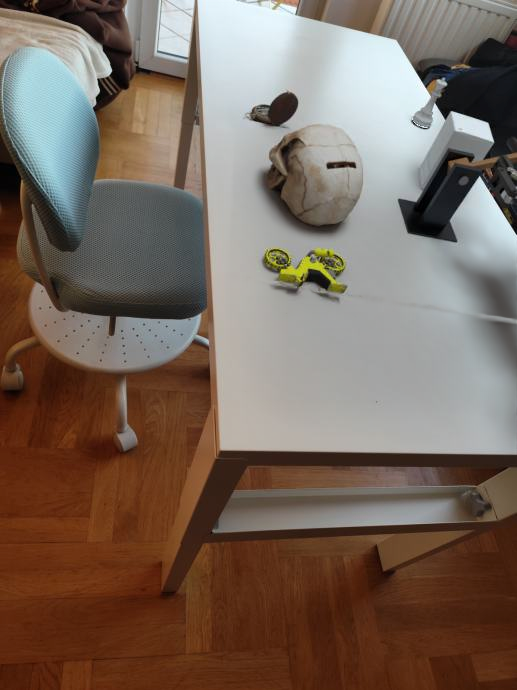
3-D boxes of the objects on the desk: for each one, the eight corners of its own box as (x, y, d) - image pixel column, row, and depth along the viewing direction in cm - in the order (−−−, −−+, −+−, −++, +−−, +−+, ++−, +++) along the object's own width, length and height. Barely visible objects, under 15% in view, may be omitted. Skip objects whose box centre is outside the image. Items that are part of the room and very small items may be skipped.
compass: (270, 108, 96) (280, 70, 90) (292, 130, 93) (303, 92, 87) (236, 111, 92) (244, 72, 87) (258, 134, 89) (267, 95, 83)
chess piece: (413, 126, 106) (437, 80, 98) (409, 116, 109) (432, 70, 101) (431, 131, 107) (456, 85, 99) (427, 120, 109) (451, 75, 102)
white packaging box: (454, 205, 90) (495, 143, 80) (417, 193, 90) (454, 129, 80) (451, 183, 95) (489, 122, 85) (415, 171, 94) (450, 109, 85)
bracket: (441, 213, 87) (482, 149, 78) (453, 247, 82) (500, 182, 72) (395, 204, 86) (431, 137, 76) (405, 237, 80) (445, 170, 70)
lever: (514, 146, 77) (516, 132, 75) (534, 179, 72) (537, 165, 70) (442, 162, 79) (442, 149, 77) (456, 195, 74) (457, 182, 72)
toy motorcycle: (346, 244, 69) (358, 281, 65) (337, 263, 72) (348, 299, 68) (266, 237, 66) (273, 275, 62) (259, 257, 69) (266, 295, 65)
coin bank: (285, 155, 86) (314, 85, 76) (361, 214, 84) (402, 150, 73) (231, 190, 78) (255, 116, 67) (315, 257, 75) (354, 192, 65)
